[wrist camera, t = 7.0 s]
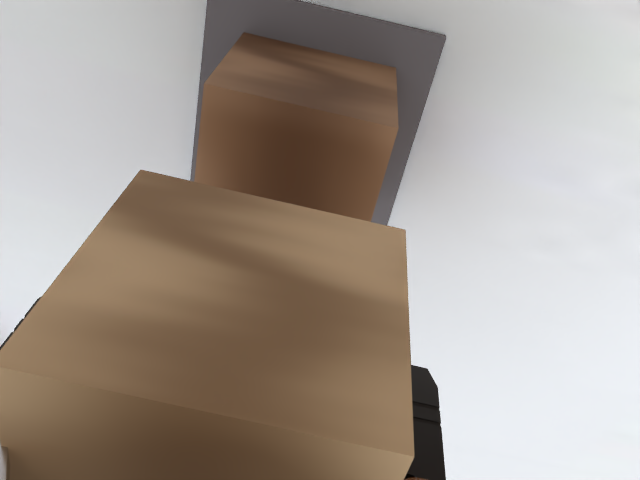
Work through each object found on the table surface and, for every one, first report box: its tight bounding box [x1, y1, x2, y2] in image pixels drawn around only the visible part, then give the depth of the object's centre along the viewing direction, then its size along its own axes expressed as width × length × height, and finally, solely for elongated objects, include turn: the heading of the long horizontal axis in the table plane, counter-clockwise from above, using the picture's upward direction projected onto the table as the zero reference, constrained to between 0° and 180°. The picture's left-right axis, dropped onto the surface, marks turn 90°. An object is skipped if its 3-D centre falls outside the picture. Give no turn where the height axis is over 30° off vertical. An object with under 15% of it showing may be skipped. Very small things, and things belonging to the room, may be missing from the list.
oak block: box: [0, 170, 414, 480], centre depth 12 cm, size 6×6×6 cm
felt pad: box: [190, 0, 446, 226], centre depth 25 cm, size 9×9×1 cm
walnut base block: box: [194, 32, 399, 222], centre depth 22 cm, size 6×6×6 cm
